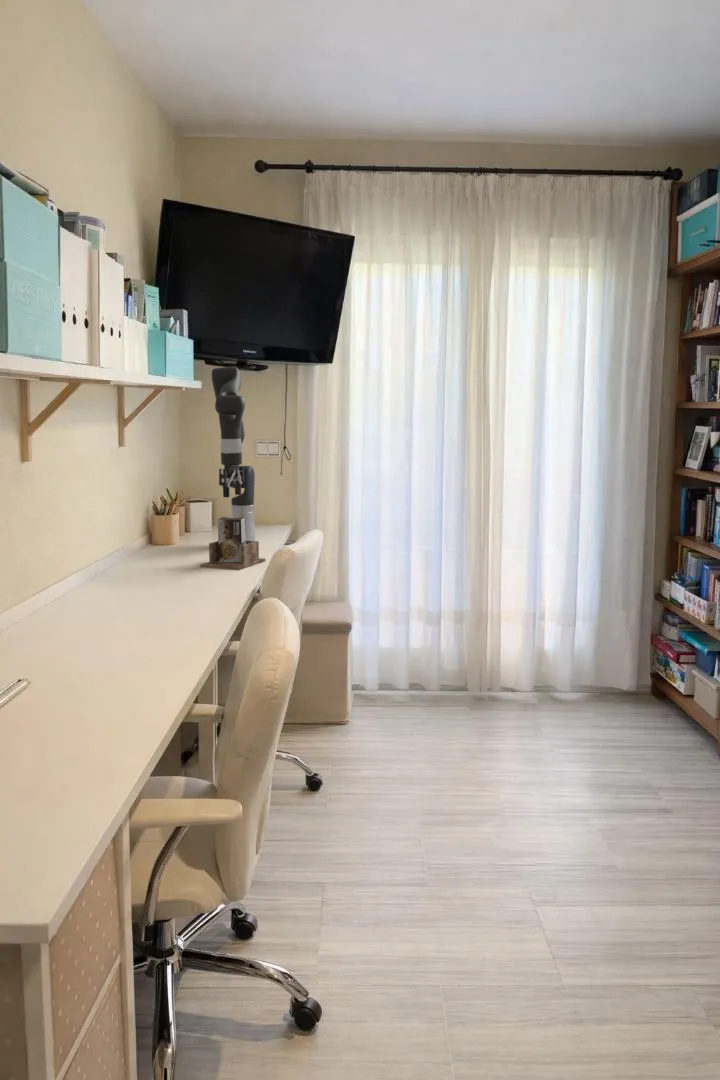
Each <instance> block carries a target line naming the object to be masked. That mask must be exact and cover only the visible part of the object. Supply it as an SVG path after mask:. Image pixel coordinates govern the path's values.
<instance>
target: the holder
mask: <svg viewBox="0 0 720 1080" xmlns="http://www.w3.org/2000/svg"><path fill="white" fill-rule="evenodd" d="M259 545H260V544H259V540H255V541H246V544H244V545H241V562H219V543H218V540H216V541H213V542H210V543H208V553H209V554H208V559H209V561H207V562H204V563H201V564H200V566H199V567H200V568H205V567H206V568H209V569H219V568H220V570H233V571H240V570H244V569H246V568H250V567H253V566H255V565H258V564H261V563H264V562H266V558H265V557H263V558H262V557H260V552H259V551H260V550H259V549H260V547H259Z"/></svg>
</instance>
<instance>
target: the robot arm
mask: <svg viewBox="0 0 720 1080" xmlns="http://www.w3.org/2000/svg"><path fill="white" fill-rule="evenodd" d="M241 376H242V375H241V372H240V369H239V368H238V367H236V366H224V367H217V368H212V370H211V383H212V388H213V392H214V396H215V403H214V404H215V405H214V407H215V411H216V413H217V414H218V420H219V427H220V464H221V465H222V466H224V467H223V468H219V469H218V486H221V487H222V493H223V495H222V496H223V498H230V495H231V494H230V488H232V489H234V494H235V496H232V498H231V501H230V502H231V517H245V526H246V541H256V530H255V529H256V528H255V526H256V522H255V481H256V480H255V478H256V476H255V475H256V474H255V470H254V468H253V466H251V465H243V451H242V450H243V449H242V448H243V447H242V445H243V442H244V440H245V428H244V427H245V426H244V421H243V415H244V412H245V408H246V402H245V401H246V400H245V399H244V397H243V396H242V395H240V393H239V392H240V391H241V388H242V377H241ZM242 489H243V492H242Z"/></svg>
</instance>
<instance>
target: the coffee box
mask: <svg viewBox="0 0 720 1080" xmlns="http://www.w3.org/2000/svg"><path fill="white" fill-rule="evenodd" d="M217 537H218V540H217V541H218V543H219V562H241V545H244V544H246V526H245V517H232V516H221V517H219V518H218V519H217Z"/></svg>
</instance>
